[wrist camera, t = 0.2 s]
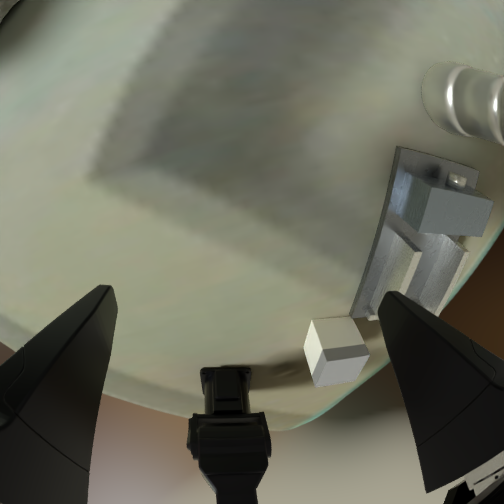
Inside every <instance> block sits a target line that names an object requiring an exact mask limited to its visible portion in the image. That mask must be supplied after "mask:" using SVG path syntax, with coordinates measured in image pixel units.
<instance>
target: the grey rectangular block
mask: <svg viewBox="0 0 504 504" xmlns="http://www.w3.org/2000/svg"><path fill="white" fill-rule="evenodd" d="M303 348H304V351H305V355H306V358H307V362H308V365H309V368H310V372H311V375H312V379H313V382H314V386H315V387H321V386H328V385H334V384H340V383H346V382H351V381H355V380H356V378H357V377H358V375H359V373H360V372H361V370H362V368H363V367H364V365H365V363H366V362H367V360H368V358H369V356H370V353H369V351H368V349H367V347H366V345H365V343H364V341H363V339H362V337H361V334H360V332H359V330H358V328H357V326H356V324H355V322H354V320H353V318H352V319H351V317H350V316H349V317H338V318H326V319H312V321H311V324H310V327H309V331H308V334H307V337H306V341H305V344H304V347H303Z"/></svg>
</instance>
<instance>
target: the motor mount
mask: <svg viewBox="0 0 504 504" xmlns="http://www.w3.org/2000/svg"><path fill="white" fill-rule="evenodd" d="M479 172H480V171H478V170H476V169H474V168H471V167H468V166H465V165H462V164H459V163H456V162H453V161H450V160H447V159H443V158H440V157H437V156H433V155H430V154H426V153H422V152H418V151H415V150H411V149H407V148H403V147H398V146H396V152H395V157H394V162H393V167H392V172H391V176H390V181H389V185H388V189H387V194H386V198H385V202H384V206H383V210H382V214H381V217H380V221H379V225H378V228H377V232H376V235H375V239H374V242H373V246H372V249H371V252H370V255H369V258H368V262H367V265H366V268H365V271H364V274H363V277H362V280H361V283H360V285H359V288H358V291H357V294H356V297H355V299H354V302H353V305H352V307H351V310H350V313H349V315H350V317H351V319H352V318H362V317H367V319H368V321H371V320H379V318H378V307H379V305H380V303H381V301H382V299H383V297H384V295H385V293H386V292H387V291H398V292H400V293H402V294H403V295H405V296H406V297H408V298H409V299H411V300H413V301H414V302H416V303H417V304H419V305H420V306H422V307H424V308H425V309H427V310H428V311H430V312H431V313H433V314H434V315H436V316H437V317H438V316H439V314H440V312H441V310H442V308H443V307H444V305H445V303H446V301H447V299H448V297H449V295H450V294H451V292H452V290H453V288H454V286H455V284H456V282H457V280H458V277H459V275H460V273H461V271H462V269H463V267H464V265H465V262H466V260H467V258H468V255H469V253H470V252H469V251H468V250H467V249H466V248H465V247H464V246H463V245H462V244H460V243H459V242H458V239H459V236H460V235H461V236H476V237H482V235H483V232H484V230H485V227H486V224H487V221H488V218H489V216H490V213H491V210H492V206H493V203H494V201H493V200H491V199H490V198H488V197H486V196H485V195H483V194H482V193H480V192H478V191H477V190H475V187H476V184H477V180H478V176H479Z"/></svg>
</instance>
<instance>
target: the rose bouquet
mask: <svg viewBox="0 0 504 504" xmlns="http://www.w3.org/2000/svg"><path fill="white" fill-rule="evenodd" d="M17 1H19V0H0V23H1V21H2V19H3V18H4V16H5V15H6V14H7V13H8V11H9V9H11V7H12V6H13V5H14V4H16V2H17Z"/></svg>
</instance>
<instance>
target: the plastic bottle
mask: <svg viewBox="0 0 504 504" xmlns="http://www.w3.org/2000/svg"><path fill="white" fill-rule="evenodd" d="M421 93H422V100H423V104H424V107H425V109H426V111H427V113H428V114H429V116H430V118H431V119H432V120H433V122H434V123H435V124H436V125H438V126H439V127H441V128H443V129H444V130H446V131H448V132H449V133H451V134H455V135H461V136H466V137H477V138H481V139H484V140H488V141H491V142H494V143H498V144H500V145H502V146H504V76H503V75H498V74H495V73H491V72H487V71H483V70H479V69H475V68H473V67H470V66H468V65H465V64H461V63H457V62H452V61H448V62H442V63H438V64H435V65H433V66H432V67H431V68H430V69H429V70H428V71H427V73H426V75H425V76H424V79H423V82H422V89H421Z"/></svg>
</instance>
